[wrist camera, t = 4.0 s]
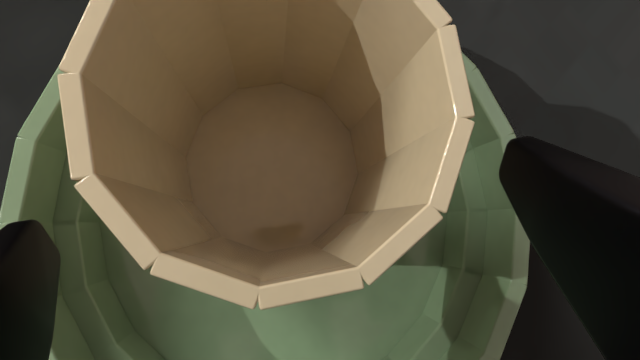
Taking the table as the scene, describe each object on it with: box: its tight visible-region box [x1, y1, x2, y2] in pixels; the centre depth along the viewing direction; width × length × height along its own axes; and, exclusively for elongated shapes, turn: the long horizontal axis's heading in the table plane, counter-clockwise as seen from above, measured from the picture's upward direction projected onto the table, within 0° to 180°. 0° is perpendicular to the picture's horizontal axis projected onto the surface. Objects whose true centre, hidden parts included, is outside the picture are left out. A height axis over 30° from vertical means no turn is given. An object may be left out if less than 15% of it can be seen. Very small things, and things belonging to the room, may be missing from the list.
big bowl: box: [0, 53, 530, 360], centre depth 15 cm, size 16×16×4 cm
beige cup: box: [57, 0, 475, 310], centre depth 12 cm, size 7×7×10 cm
